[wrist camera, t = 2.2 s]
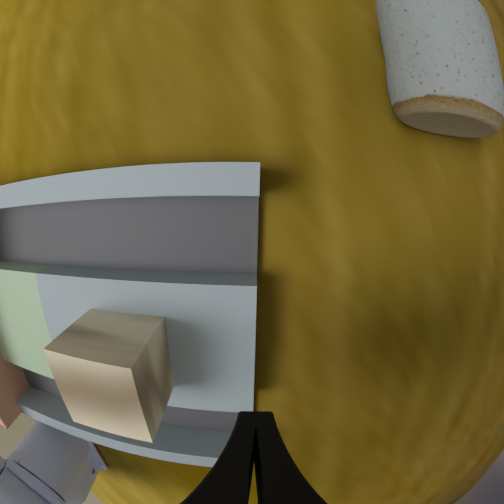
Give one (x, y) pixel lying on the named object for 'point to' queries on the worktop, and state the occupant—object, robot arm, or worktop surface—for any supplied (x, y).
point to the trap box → (136, 290)
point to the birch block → (114, 372)
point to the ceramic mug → (442, 66)
